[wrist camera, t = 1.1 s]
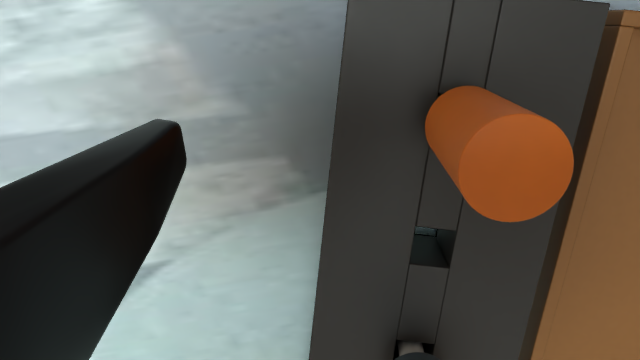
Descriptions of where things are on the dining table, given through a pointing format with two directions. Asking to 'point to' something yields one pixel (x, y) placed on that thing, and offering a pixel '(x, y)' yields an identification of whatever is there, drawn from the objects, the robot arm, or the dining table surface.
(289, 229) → the dining table surface
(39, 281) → the robot arm
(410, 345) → the screwdriver
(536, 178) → the orange-handled tool
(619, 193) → the tray
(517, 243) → the rack
